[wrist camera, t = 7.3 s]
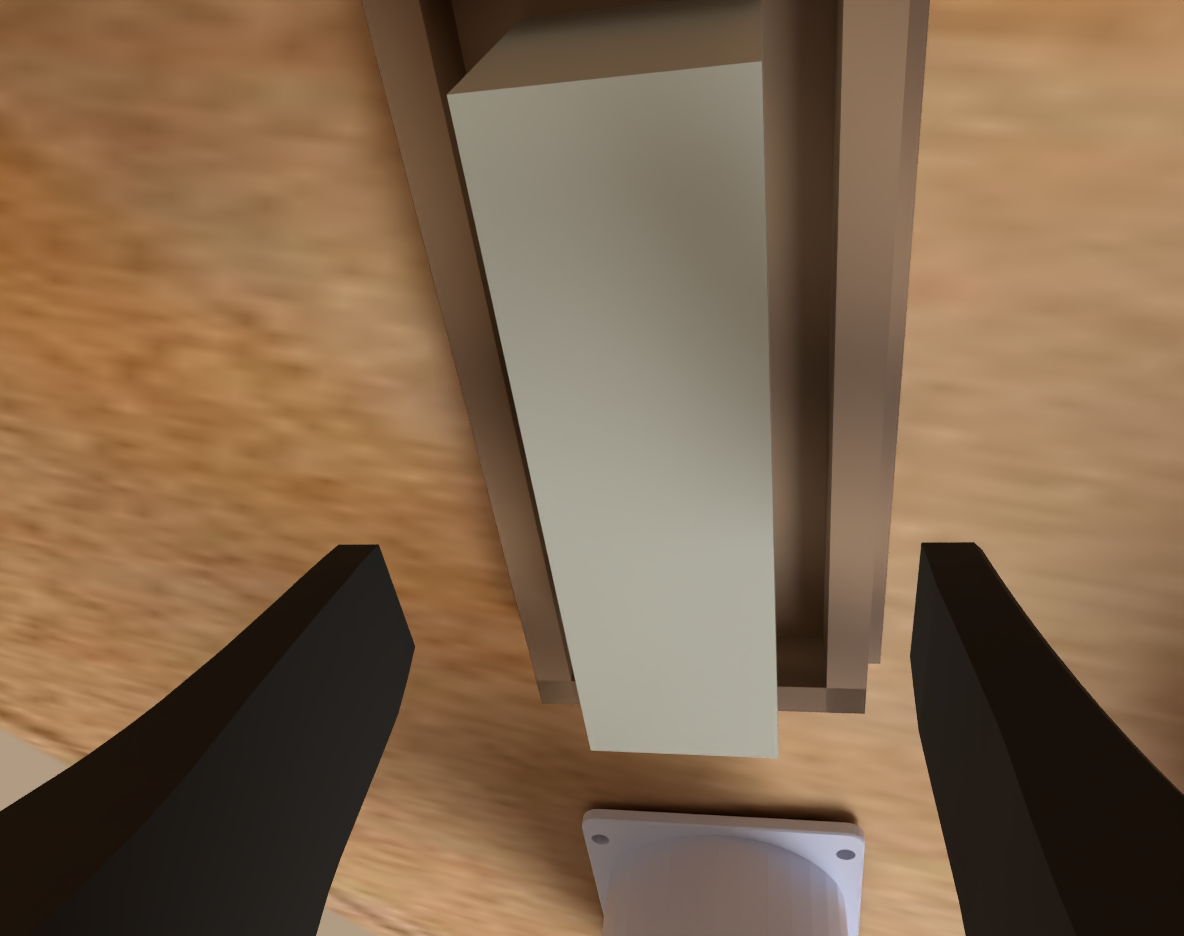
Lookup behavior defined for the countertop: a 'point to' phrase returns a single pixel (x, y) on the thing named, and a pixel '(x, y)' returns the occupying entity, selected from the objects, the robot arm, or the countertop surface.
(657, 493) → the grey rectangular block
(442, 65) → the tray
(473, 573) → the countertop surface
